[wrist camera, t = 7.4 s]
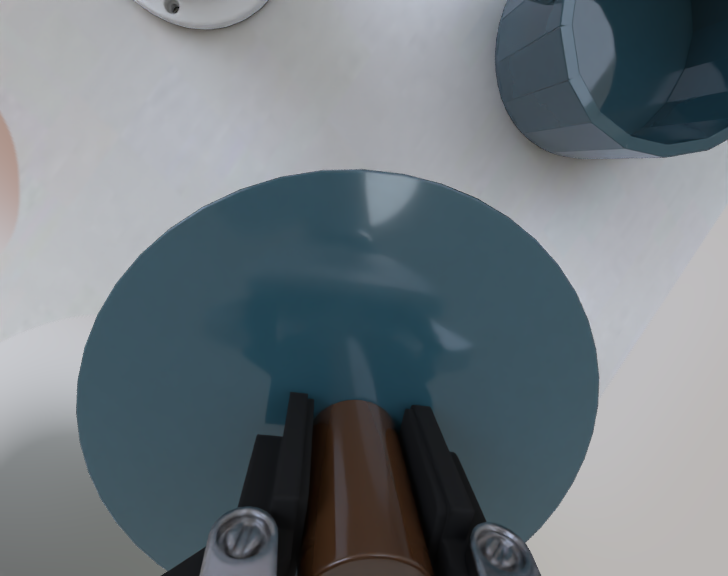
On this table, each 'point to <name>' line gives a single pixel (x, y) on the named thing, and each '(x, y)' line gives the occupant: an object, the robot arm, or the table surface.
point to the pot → (616, 75)
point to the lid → (336, 365)
